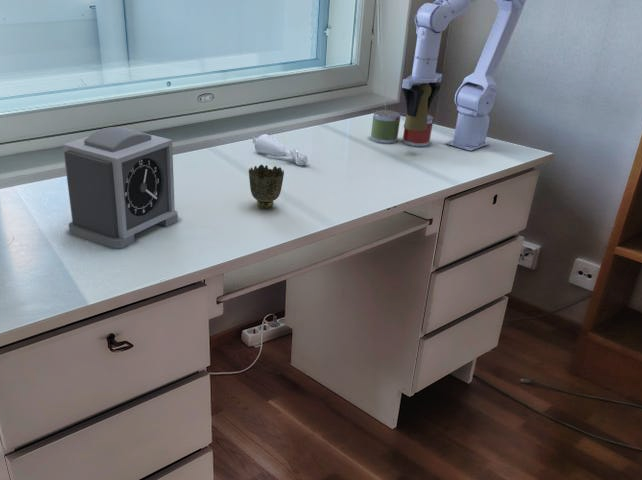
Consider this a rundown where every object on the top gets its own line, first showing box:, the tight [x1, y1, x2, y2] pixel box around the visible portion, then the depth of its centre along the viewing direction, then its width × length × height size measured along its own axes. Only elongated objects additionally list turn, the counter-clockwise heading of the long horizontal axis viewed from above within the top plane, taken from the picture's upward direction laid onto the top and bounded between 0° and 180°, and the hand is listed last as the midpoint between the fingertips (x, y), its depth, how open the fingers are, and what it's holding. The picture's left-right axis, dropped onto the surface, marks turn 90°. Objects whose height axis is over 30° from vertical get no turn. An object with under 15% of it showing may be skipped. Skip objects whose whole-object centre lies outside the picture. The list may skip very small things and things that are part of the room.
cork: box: [403, 83, 431, 131], centre depth 176 cm, size 6×6×11 cm
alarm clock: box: [62, 126, 179, 250], centre depth 130 cm, size 18×13×18 cm
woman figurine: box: [252, 133, 309, 166], centre depth 175 cm, size 12×4×18 cm
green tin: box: [370, 109, 401, 144], centre depth 192 cm, size 8×8×7 cm
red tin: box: [402, 114, 434, 148], centre depth 191 cm, size 8×8×7 cm
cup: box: [248, 164, 285, 210], centre depth 145 cm, size 8×7×8 cm
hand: (417, 114), depth 178 cm, fingers closed on cork, 5 cm apart
